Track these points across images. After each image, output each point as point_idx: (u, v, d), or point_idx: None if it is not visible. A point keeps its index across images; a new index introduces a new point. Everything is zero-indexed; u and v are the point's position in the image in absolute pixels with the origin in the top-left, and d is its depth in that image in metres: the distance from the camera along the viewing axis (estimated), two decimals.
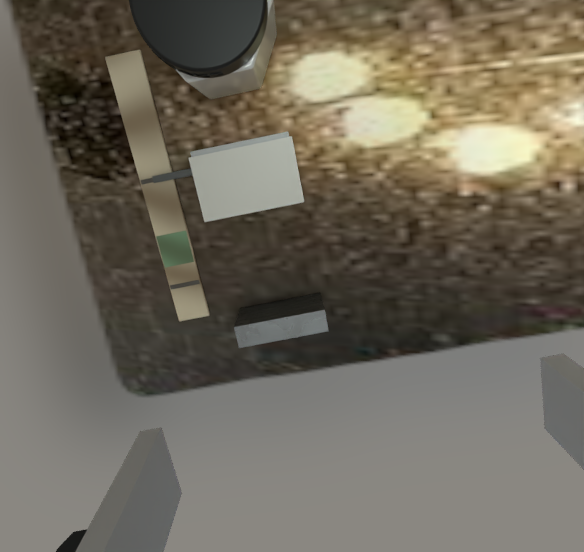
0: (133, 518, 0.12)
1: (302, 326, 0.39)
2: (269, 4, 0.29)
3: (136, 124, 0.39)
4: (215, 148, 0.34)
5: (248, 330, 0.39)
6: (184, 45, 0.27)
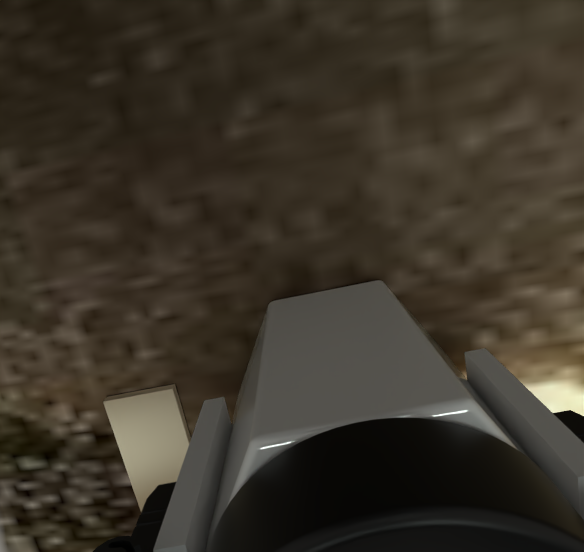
0: (213, 472, 0.13)
1: None
2: None
3: None
4: None
5: None
6: None
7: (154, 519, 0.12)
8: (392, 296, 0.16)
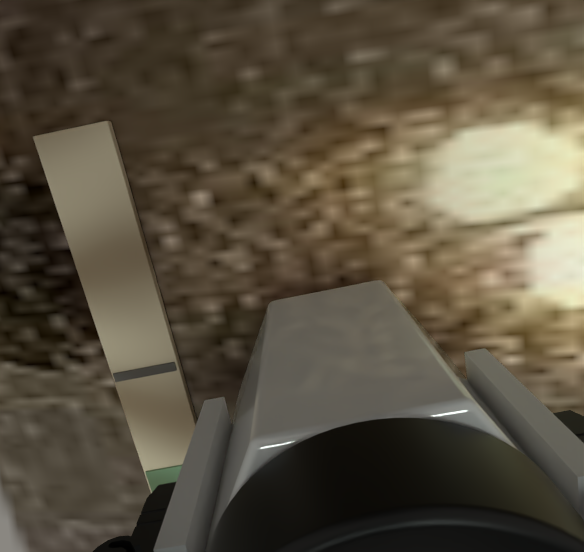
0: (213, 472, 0.13)
1: None
2: None
3: (104, 269, 0.19)
4: None
5: None
6: None
7: (154, 519, 0.12)
8: (392, 296, 0.16)
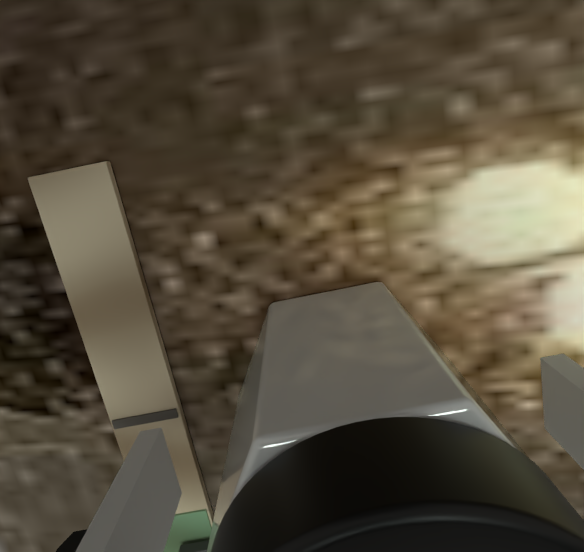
0: (133, 518, 0.12)
1: None
2: None
3: (102, 314, 0.18)
4: None
5: None
6: None
7: None
8: (392, 297, 0.16)
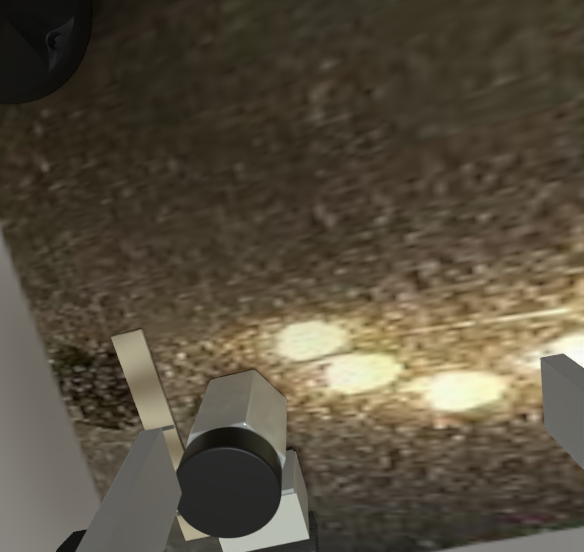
0: (133, 518, 0.12)
1: None
2: (282, 464, 0.35)
3: (141, 387, 0.44)
4: None
5: None
6: (217, 524, 0.34)
7: None
8: (252, 380, 0.41)
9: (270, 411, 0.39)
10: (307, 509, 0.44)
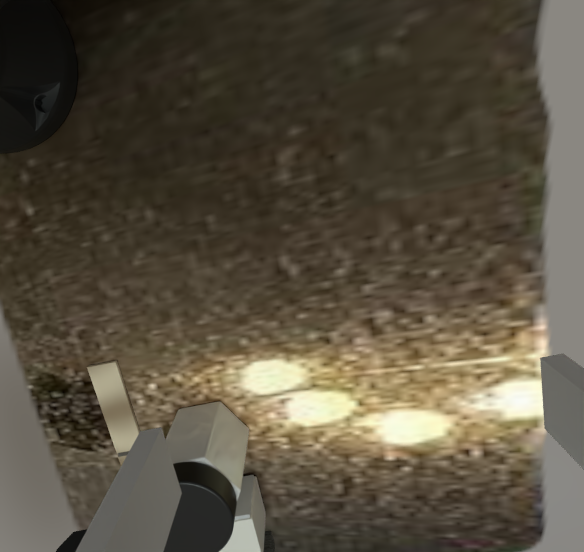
0: (133, 518, 0.12)
1: None
2: (237, 496, 0.39)
3: (114, 413, 0.47)
4: None
5: None
6: (175, 550, 0.37)
7: None
8: (216, 412, 0.45)
9: (231, 444, 0.43)
10: (264, 531, 0.48)
